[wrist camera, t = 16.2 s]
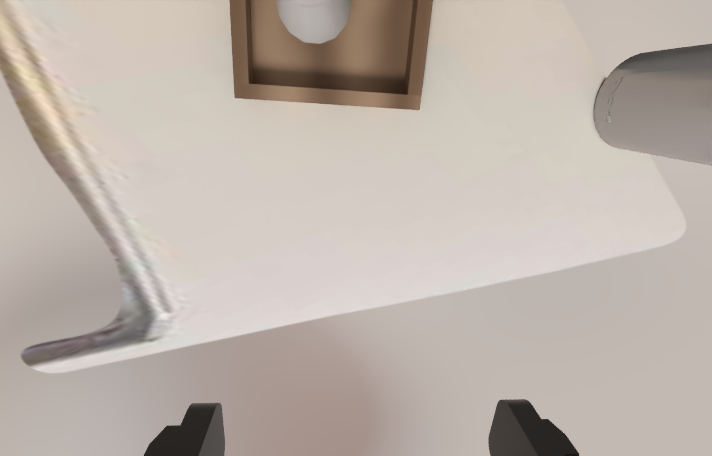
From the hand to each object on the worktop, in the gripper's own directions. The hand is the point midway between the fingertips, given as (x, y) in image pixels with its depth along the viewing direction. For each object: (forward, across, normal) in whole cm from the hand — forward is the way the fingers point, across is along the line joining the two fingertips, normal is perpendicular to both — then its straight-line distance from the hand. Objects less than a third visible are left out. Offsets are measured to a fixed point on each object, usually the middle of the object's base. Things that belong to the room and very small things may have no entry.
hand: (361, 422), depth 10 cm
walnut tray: (+28, +1, -16) cm, 32 cm away
